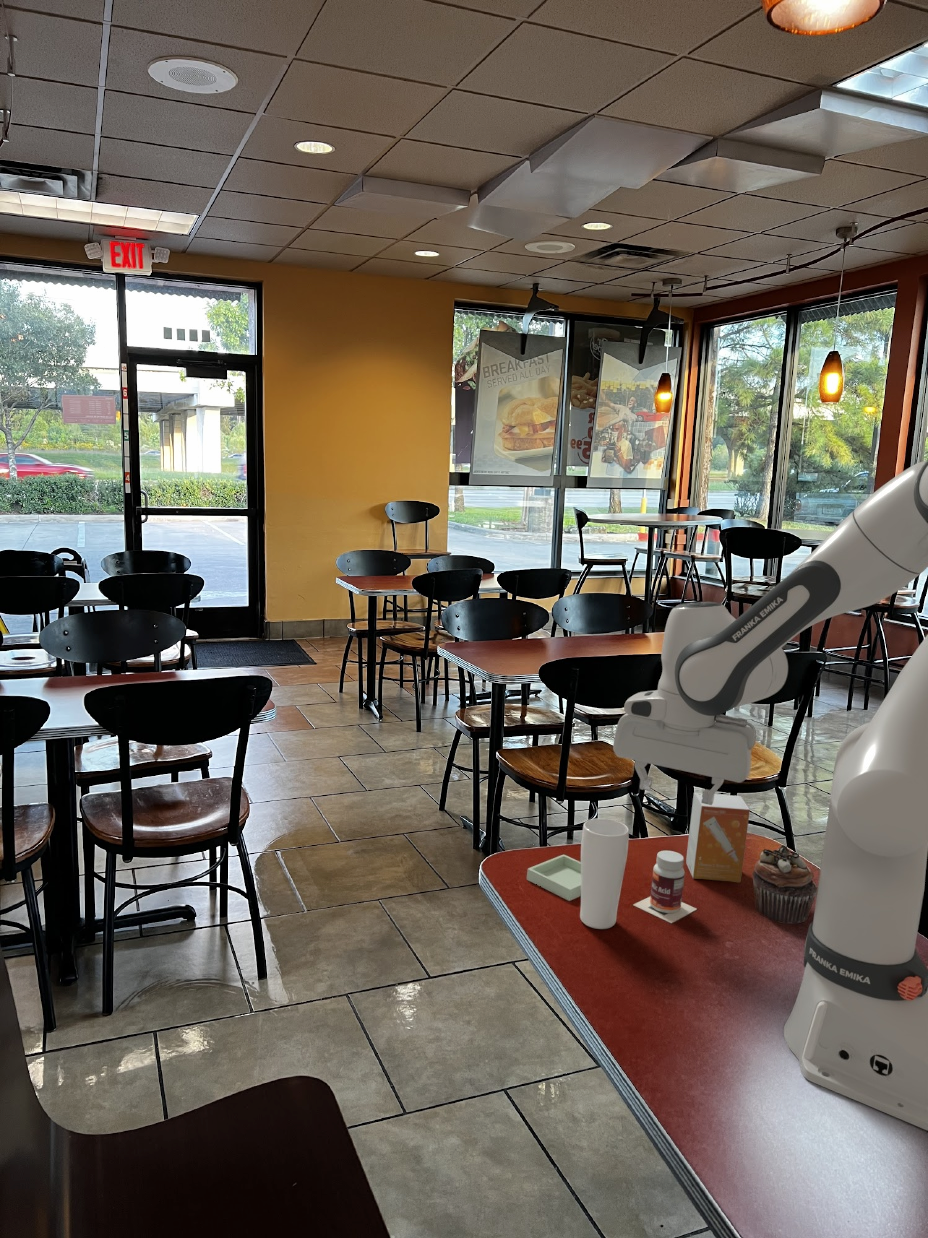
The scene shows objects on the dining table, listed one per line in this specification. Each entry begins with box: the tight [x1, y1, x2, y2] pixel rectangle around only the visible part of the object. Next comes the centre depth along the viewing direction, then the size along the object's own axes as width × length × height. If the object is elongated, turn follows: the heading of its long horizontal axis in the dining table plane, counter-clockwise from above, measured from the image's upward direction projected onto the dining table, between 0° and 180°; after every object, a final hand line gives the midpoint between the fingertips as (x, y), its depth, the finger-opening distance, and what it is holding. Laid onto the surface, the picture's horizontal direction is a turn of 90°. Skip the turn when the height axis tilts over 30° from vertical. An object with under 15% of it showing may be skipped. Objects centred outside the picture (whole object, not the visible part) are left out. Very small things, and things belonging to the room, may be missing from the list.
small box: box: [685, 792, 751, 883], centre depth 154 cm, size 8×6×13 cm
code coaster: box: [632, 896, 698, 924], centre depth 142 cm, size 7×7×1 cm
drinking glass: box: [579, 817, 630, 930], centre depth 135 cm, size 7×7×15 cm
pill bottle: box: [649, 850, 686, 913], centre depth 141 cm, size 5×5×8 cm
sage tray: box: [526, 854, 581, 902], centre depth 148 cm, size 9×9×2 cm
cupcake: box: [752, 844, 818, 925], centre depth 142 cm, size 10×10×10 cm
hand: (676, 796), depth 139 cm, fingers open, 8 cm apart
